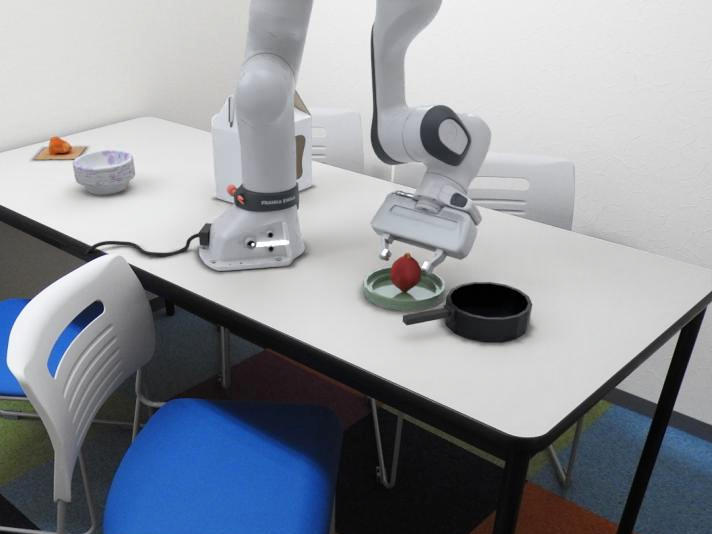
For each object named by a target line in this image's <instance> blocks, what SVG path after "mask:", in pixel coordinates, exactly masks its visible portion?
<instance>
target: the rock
mask: <svg viewBox="0 0 712 534" xmlns="http://www.w3.org/2000/svg"><path fill="white" fill-rule="evenodd" d="M85 149H86V146H72V145H71V144H70V143H69V142H68V141H65V140H64V139H62V138H60V137H59V136H52V137H50V138H49V142H48V147H45V148H44V149H43V150H42V151H41V152H40V153H39V154H38V155H37V156H36V157H35V158H34V160H39V161H40V160H51V161H52V160H75V159H76V158H77V157H79V156H81V154H82V153H83V152H84V150H85Z"/></svg>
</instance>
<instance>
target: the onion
mask: <svg viewBox="0 0 712 534" xmlns="http://www.w3.org/2000/svg"><path fill="white" fill-rule="evenodd" d="M391 266H392V267H391V270H390V279H391V281H392V283H393V284H394V285H395V286H396V287H397V288H399V289H400V290H401V291H402V292H407V291H409V290H410V289H412V288H413V287H415V286H416V285H417V284H418V283H419V281H420V278H421V266H420V263H419V262H418V261H417V259H416V258H414V257H413V256H411V253H410V252H405V253H404V254H403V255H402V256H400V257H398V259H396V260H395V261H394V262H393V264H392V265H391Z"/></svg>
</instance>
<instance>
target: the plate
mask: <svg viewBox="0 0 712 534" xmlns="http://www.w3.org/2000/svg"><path fill="white" fill-rule="evenodd" d="M391 267H392V265H390V266H385V267H380V268H377V269H375V270H372V271H370V272H369V273H368V274H366V275H365V277H364V279H363V282H362V291H363V295H364V297H365V298H366V299H367V300H368V301H369V302H371V303H373V304H375V305H377V306H378V307H383V308H385V309H390V310H395V311H419V310H424V309H425V310H426V309H429V308H431V307H433V306H436V305H438V304H440V302H442V301H443V300H444V297H445V294H446V286H447V284H446V282H445V279H444V278H443V277H441V275H440V274H438V273H437V272H434V271H432V273H431V275H429V274H426V273H423V272H422V271H421V278H420V281H419V283H418V284H417V285H416V286H415V287H413V288H412V289H410V290H409V291H407V292H402V291H401V290H400V289H399V288H397V287H396V286H395V285H394V284H393V283H392V281H391V279H390V270H391Z"/></svg>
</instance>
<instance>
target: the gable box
mask: <svg viewBox="0 0 712 534" xmlns="http://www.w3.org/2000/svg"><path fill="white" fill-rule="evenodd" d="M312 120H313V117H312V115H311V113H310V110H309V109H308V108H307V106H306V104H305V102H304V101H303V100H302V98H301V96H300V94H299V93H298V91H297V89H295V92H294V124H295V139H296V182H297V183H298V187H299V192H301V191H303V190H306V189H308V188H311V187H312V186H313V161H312V160H313V121H312ZM211 140H212V141H211V143H212V156H213V157H212V158H213V169H214V184H215V197H216V199H217V200H221V201H224V202H228V203H230V204H234V197H233V196H230V195H229V193H228V192H227V187H228V186H229V185H234V186H235V187H236V188H237V189H238V188H239V187H240V185H241V184H242V164H241V146H240V139H239V133H238V126H237V118H236V110H235V99H234V93H232V94H230V95H229V96H228V97H227V99H226V100H225V102H224V104H223V105H222V107H221V109H220V111H219V113H218V115H217V116H216V118H215V120H214V121H213V124H212V125H211Z"/></svg>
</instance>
